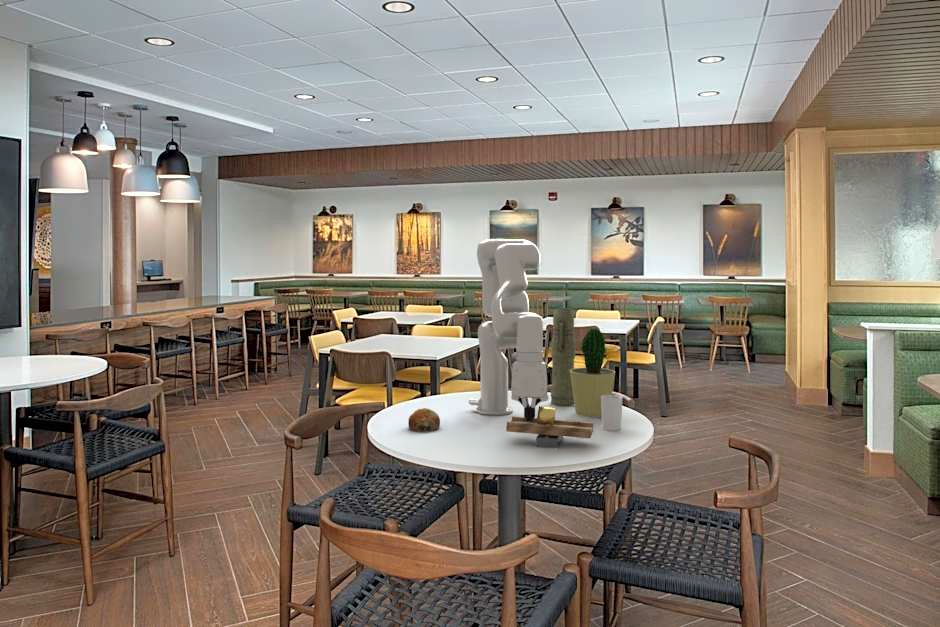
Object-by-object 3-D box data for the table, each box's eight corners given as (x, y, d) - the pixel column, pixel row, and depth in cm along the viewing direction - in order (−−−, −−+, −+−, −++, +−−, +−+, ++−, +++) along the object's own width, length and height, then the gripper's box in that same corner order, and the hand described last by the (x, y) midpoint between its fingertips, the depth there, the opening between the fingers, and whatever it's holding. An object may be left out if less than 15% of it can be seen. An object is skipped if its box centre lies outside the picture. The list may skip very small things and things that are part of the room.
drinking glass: (609, 431, 218) (610, 399, 218) (596, 427, 224) (596, 395, 224) (626, 429, 221) (627, 397, 221) (612, 425, 227) (613, 394, 227)
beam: (506, 431, 204) (506, 421, 204) (512, 424, 213) (512, 415, 213) (590, 438, 198) (590, 428, 198) (593, 431, 207) (593, 421, 207)
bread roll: (442, 438, 225) (446, 413, 228) (431, 431, 216) (435, 405, 219) (413, 436, 228) (417, 411, 231) (401, 428, 219) (405, 403, 222)
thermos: (575, 400, 267) (576, 307, 264) (574, 407, 255) (575, 309, 252) (551, 399, 268) (552, 307, 266) (549, 406, 257) (550, 309, 254)
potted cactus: (566, 408, 252) (567, 324, 250) (610, 409, 252) (611, 324, 249) (571, 418, 237) (572, 328, 234) (618, 418, 236) (619, 328, 234)
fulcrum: (536, 446, 201) (536, 436, 201) (543, 436, 212) (543, 426, 212) (557, 448, 199) (557, 437, 199) (563, 437, 211) (563, 427, 211)
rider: (535, 424, 204) (537, 407, 203) (537, 421, 208) (540, 404, 208) (552, 428, 202) (555, 411, 202) (554, 424, 207) (557, 407, 207)
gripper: (501, 358, 204) (501, 421, 205) (553, 360, 200) (553, 424, 201) (507, 355, 211) (507, 416, 212) (557, 356, 207) (557, 419, 208)
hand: (529, 420), depth 206 cm, fingers closed
